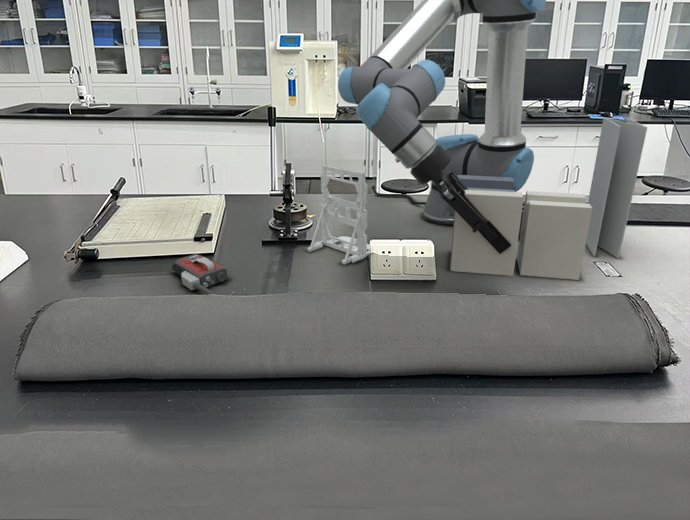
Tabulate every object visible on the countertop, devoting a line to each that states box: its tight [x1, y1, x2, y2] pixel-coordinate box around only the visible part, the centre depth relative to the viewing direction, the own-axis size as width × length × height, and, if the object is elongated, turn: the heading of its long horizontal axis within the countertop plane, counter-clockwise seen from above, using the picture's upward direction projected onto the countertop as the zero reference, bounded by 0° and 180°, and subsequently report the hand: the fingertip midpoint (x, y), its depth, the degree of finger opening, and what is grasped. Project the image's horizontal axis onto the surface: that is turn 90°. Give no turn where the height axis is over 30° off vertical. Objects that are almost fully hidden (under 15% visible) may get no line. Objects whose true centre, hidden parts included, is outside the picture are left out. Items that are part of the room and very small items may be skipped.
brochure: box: [586, 117, 648, 259], centre depth 125 cm, size 14×6×30 cm, turn 168°
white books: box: [516, 190, 592, 281], centre depth 115 cm, size 9×12×16 cm
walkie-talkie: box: [170, 253, 228, 295], centre depth 111 cm, size 9×4×20 cm
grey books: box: [449, 175, 515, 271], centre depth 118 cm, size 10×12×19 cm
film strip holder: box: [306, 164, 371, 266], centre depth 125 cm, size 14×14×20 cm
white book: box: [450, 190, 525, 277], centre depth 103 cm, size 3×12×16 cm, turn 78°
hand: (504, 245), depth 103 cm, fingers closed on white book, 3 cm apart
